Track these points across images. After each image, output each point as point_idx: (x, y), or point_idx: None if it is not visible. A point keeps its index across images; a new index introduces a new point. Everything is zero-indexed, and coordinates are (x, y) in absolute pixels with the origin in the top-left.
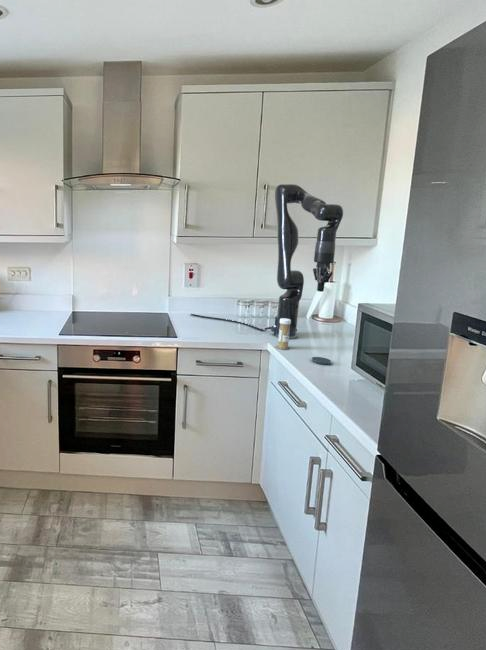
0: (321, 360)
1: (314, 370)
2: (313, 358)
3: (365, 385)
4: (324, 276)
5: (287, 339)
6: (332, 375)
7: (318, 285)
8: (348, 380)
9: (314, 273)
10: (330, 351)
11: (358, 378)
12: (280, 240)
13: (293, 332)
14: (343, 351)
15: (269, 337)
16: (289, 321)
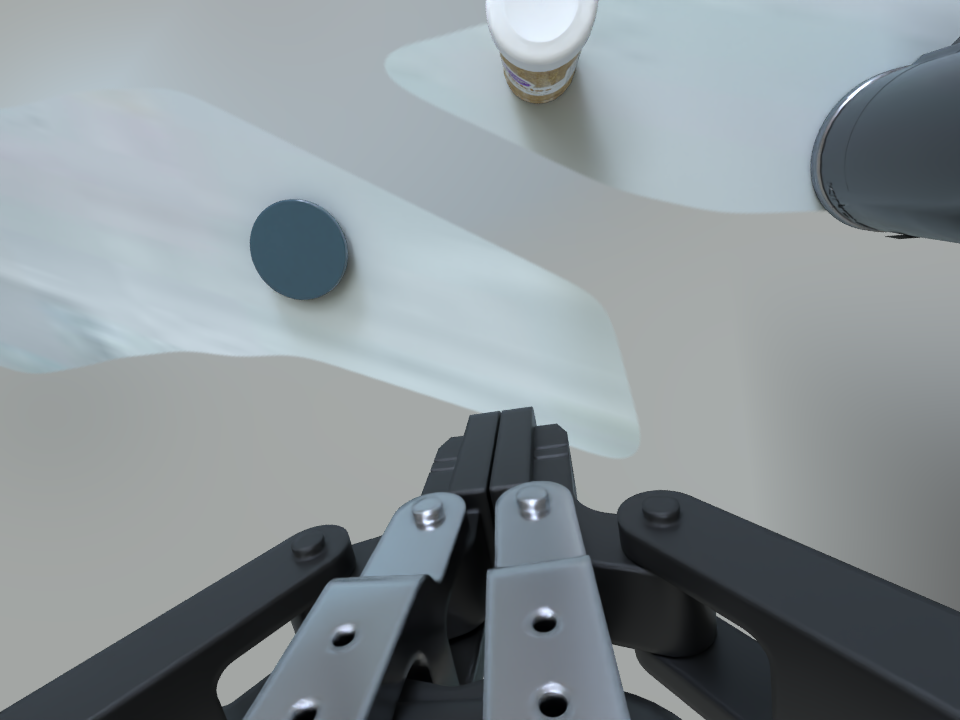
0: (278, 246)
1: (145, 173)
2: (299, 209)
3: (48, 351)
4: (87, 671)
5: (508, 76)
6: (110, 246)
7: (485, 458)
8: (75, 300)
9: (900, 629)
10: (548, 368)
11: (127, 354)
12: None
13: (845, 200)
14: (570, 440)
15: (840, 3)
16: (495, 42)
